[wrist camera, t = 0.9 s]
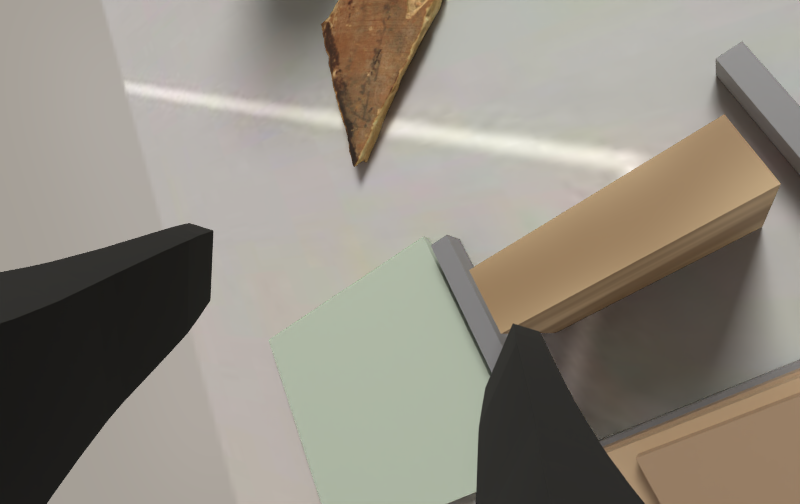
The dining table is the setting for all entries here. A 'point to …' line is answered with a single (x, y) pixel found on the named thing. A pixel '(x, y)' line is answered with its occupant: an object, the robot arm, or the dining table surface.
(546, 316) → the oak block
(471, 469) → the sage mat
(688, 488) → the offcut rack
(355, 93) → the shard
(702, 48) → the dining table surface
